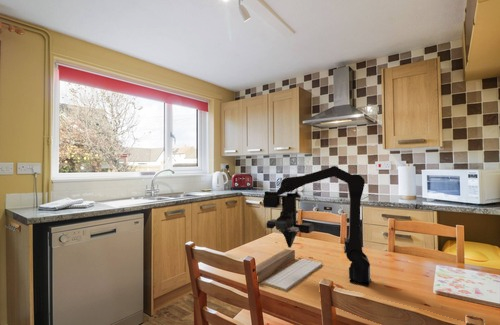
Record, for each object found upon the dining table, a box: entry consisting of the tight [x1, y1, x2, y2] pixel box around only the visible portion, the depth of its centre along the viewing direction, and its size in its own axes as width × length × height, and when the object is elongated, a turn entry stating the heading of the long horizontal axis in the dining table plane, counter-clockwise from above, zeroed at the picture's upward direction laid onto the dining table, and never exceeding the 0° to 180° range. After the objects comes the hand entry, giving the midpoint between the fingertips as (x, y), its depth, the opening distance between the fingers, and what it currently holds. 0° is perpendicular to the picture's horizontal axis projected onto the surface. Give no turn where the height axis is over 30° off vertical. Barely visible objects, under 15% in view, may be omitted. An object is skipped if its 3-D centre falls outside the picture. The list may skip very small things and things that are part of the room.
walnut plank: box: [255, 248, 296, 284], centre depth 110 cm, size 5×32×4 cm, turn 146°
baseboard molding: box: [260, 255, 324, 292], centre depth 104 cm, size 31×3×12 cm
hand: (289, 247), depth 104 cm, fingers closed
